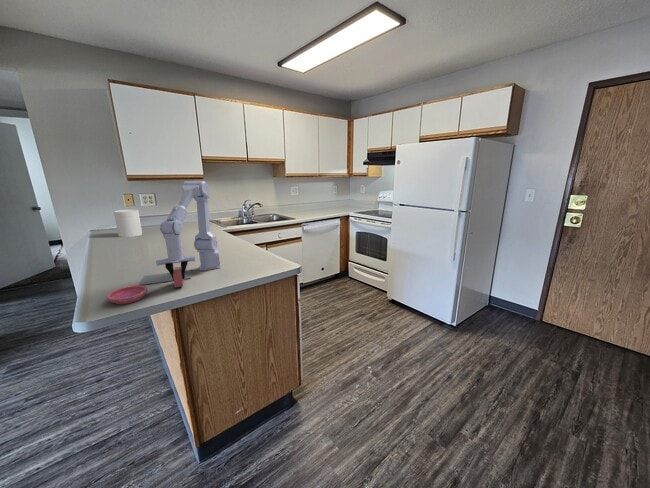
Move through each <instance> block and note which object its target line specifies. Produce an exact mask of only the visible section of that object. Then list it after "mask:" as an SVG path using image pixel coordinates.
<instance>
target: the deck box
mask: <svg viewBox="0 0 650 488" xmlns="http://www.w3.org/2000/svg"><path fill="white" fill-rule="evenodd" d="M173 268H174V271H173V279H174V281H173V284H174V288H180V287H183V286H184V281H185V280H184V279H183V278H182V269H181V266H176V267H173Z"/></svg>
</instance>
